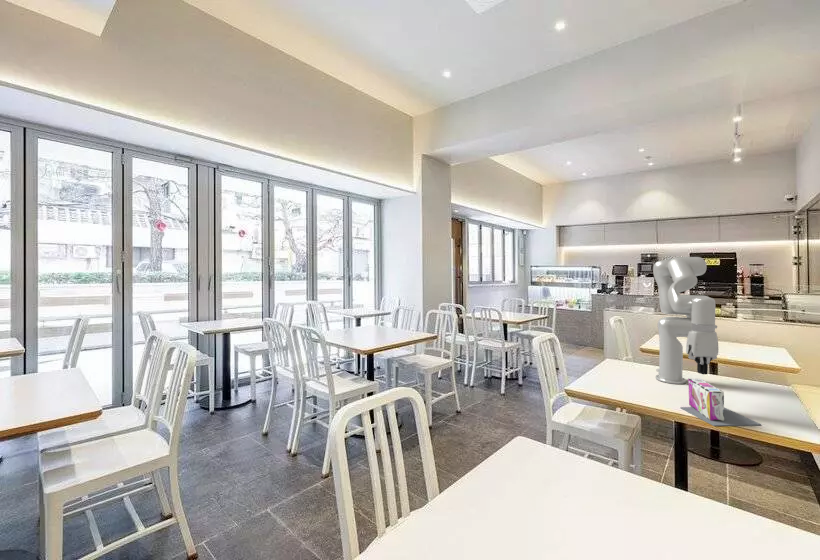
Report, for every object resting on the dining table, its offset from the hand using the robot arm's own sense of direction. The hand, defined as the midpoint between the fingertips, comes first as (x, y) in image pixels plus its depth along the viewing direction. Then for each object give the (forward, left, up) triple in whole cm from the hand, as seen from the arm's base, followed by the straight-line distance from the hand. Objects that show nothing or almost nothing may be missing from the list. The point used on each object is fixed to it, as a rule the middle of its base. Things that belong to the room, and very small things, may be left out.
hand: (702, 373), depth 152 cm
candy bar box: (-3, -1, -8) cm, 9 cm away
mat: (+8, 0, -14) cm, 16 cm away
